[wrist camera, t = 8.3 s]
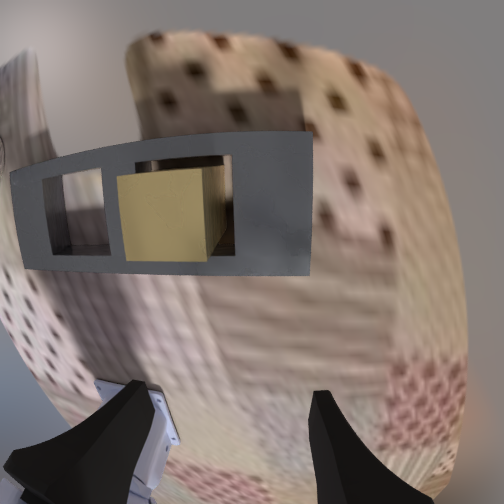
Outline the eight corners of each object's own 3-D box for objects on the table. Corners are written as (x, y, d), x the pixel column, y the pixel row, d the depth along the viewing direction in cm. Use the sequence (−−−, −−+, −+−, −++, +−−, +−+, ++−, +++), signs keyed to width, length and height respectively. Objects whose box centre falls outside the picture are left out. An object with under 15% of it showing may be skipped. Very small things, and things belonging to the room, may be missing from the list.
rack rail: (304, 261, 18) (309, 275, 16) (41, 259, 20) (24, 268, 17) (306, 135, 16) (312, 131, 13) (28, 168, 17) (9, 172, 15)
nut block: (226, 228, 18) (207, 261, 12) (167, 229, 18) (126, 261, 12) (224, 165, 17) (201, 168, 11) (162, 169, 17) (116, 176, 11)
